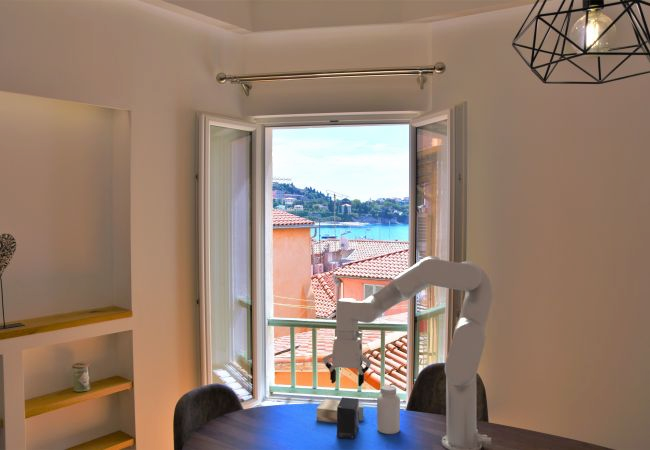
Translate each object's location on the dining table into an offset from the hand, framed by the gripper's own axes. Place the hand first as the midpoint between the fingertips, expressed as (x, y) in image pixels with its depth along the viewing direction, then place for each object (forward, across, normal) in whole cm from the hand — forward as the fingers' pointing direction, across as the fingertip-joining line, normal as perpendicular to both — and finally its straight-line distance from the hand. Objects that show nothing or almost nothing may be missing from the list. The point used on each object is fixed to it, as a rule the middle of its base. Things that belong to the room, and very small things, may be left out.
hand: (346, 383), depth 178 cm
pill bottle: (+17, -14, -6) cm, 23 cm away
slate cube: (+17, 0, -14) cm, 22 cm away
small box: (+17, 0, 0) cm, 17 cm away
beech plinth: (+17, +8, -12) cm, 23 cm away
